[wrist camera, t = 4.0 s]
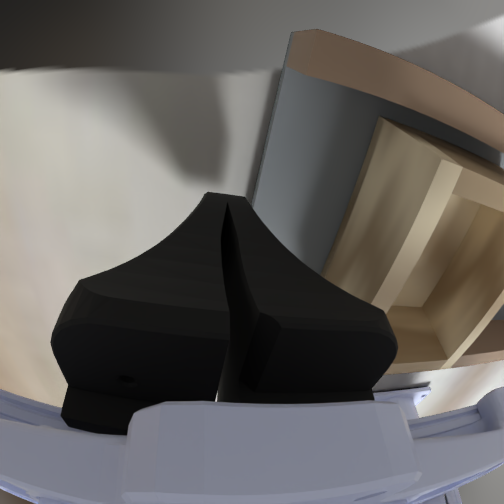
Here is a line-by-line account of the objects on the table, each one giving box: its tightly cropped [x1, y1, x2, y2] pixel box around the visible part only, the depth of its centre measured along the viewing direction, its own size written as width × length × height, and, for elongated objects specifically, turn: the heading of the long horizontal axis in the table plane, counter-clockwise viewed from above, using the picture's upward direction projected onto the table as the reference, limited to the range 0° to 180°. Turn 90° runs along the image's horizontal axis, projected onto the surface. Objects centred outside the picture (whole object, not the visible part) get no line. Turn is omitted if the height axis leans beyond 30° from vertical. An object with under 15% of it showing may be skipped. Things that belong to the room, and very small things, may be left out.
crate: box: [321, 116, 504, 375], centre depth 11 cm, size 9×7×4 cm
